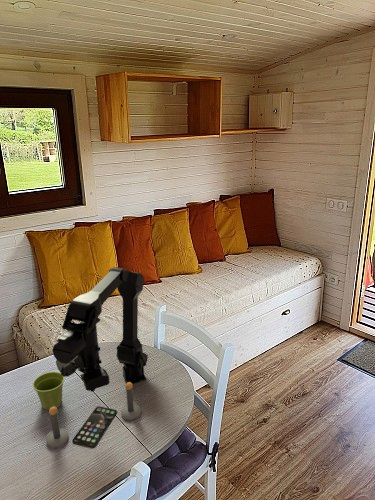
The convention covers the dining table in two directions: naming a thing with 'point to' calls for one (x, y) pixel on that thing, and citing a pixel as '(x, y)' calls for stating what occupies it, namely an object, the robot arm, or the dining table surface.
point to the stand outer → (56, 432)
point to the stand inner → (130, 405)
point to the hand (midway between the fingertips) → (92, 389)
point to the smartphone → (94, 427)
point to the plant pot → (49, 389)
